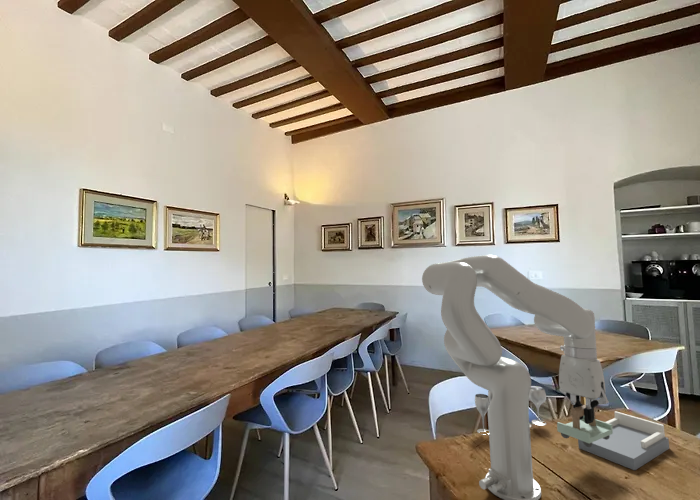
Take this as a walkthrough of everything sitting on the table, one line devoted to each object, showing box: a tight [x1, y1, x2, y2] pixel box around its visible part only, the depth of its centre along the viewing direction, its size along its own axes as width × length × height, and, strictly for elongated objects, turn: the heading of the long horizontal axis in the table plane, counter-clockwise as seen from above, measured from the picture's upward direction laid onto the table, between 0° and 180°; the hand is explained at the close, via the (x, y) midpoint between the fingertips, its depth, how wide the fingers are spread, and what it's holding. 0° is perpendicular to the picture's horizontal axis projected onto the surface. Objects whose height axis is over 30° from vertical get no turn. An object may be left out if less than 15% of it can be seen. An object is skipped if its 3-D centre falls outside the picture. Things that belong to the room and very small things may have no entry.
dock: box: [577, 411, 670, 471], centre depth 102 cm, size 22×14×6 cm, turn 119°
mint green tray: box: [556, 404, 613, 447], centre depth 93 cm, size 12×8×8 cm, turn 119°
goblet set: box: [474, 385, 547, 436], centre depth 118 cm, size 28×6×13 cm, turn 105°
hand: (584, 420), depth 93 cm, fingers closed on mint green tray
